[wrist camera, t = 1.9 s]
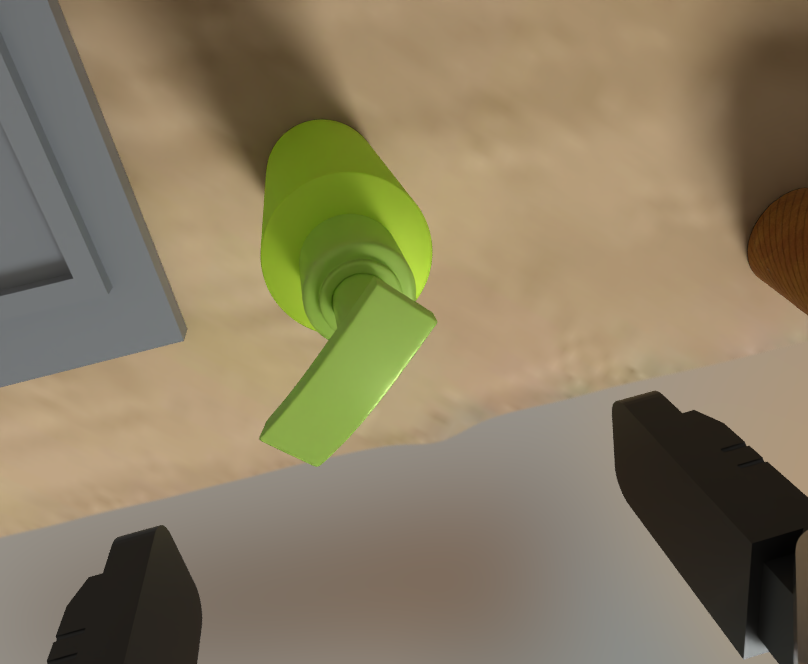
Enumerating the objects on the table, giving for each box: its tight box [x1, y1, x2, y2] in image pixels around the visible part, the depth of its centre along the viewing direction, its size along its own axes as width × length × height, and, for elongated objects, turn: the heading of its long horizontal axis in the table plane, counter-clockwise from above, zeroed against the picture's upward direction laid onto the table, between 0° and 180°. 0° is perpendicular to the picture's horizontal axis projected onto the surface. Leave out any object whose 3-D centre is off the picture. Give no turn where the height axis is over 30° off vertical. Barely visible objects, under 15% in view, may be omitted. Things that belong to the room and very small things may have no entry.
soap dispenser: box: [259, 119, 437, 467], centre depth 25 cm, size 6×7×20 cm
